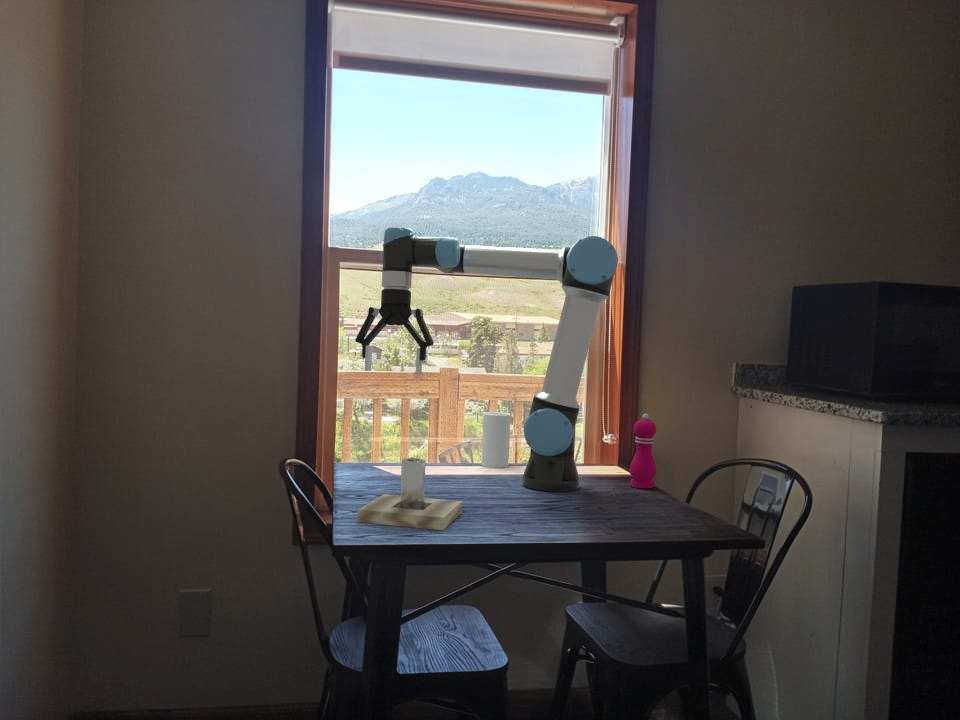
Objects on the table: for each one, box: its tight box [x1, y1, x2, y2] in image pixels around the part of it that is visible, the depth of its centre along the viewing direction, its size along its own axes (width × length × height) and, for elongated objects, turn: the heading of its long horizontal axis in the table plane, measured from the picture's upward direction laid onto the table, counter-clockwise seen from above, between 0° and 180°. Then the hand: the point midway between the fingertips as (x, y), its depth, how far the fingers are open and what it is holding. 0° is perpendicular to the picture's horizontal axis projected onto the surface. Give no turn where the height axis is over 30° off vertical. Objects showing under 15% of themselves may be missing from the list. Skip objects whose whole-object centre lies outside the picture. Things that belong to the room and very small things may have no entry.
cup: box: [481, 411, 512, 469], centre depth 222 cm, size 8×8×16 cm
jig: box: [356, 493, 463, 531], centre depth 154 cm, size 18×16×2 cm
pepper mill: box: [629, 413, 658, 490], centre depth 198 cm, size 7×7×20 cm
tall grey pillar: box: [400, 457, 426, 510], centre depth 154 cm, size 5×5×12 cm
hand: (393, 372), depth 187 cm, fingers open, 13 cm apart
